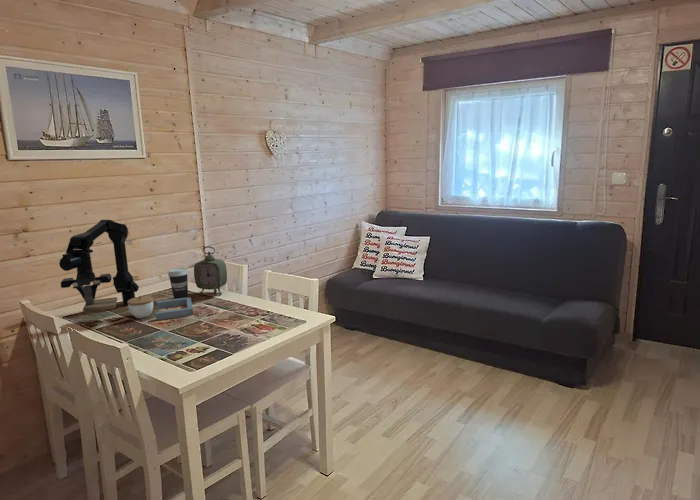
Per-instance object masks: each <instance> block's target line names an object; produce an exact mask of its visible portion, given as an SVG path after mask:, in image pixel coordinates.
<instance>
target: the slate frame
mask: <svg viewBox="0 0 700 500" xmlns="http://www.w3.org/2000/svg"><path fill="white" fill-rule="evenodd" d="M155 303H156V304H155V305H156V309H157V310H160V309H166V308H172V307H173V308H174V307H181V306H186V307H185V308H178V309H177V308H176V309H173V310H172V309H169V310H164V311H163V310H162V311H156V312H155V313H154V314H155V321H161V320H168V319H174V318H175V319H176V318H181V317H188V316H189V317H190V316H194V312H193V311H194V310H193V304H192V297H191V296H188V297H187V298H180V299H174V298H173V299H166V300H158V301H157V300H156V302H155Z"/></svg>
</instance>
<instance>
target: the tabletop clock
mask: <svg viewBox="0 0 700 500" xmlns="http://www.w3.org/2000/svg"><path fill="white" fill-rule="evenodd" d="M208 248H209V249H212V250H213V252H210V251H207V252H205V251H204V250H205V249H208ZM202 252H203V254H205V256H204V259H203V260H202V259H201V261H200V260H199V261H198V262H196V263H194V267H193V277H194V282H195V285H196V287H197V288H198V289H201V291H199V294H200V295H203V293H204V290H213V292H214V293H217V290H218V296H222V292H221V290H220V288H221V287H223V286H225V285H227V282H228V272H227V271H228V270H227V265H226V261H224V260H223V259H220V258H219V259H218V258H215V256H214V255H213V254H215V253H216V249H215V248H214V247H213V246H209V245H207V246H204V247H203V248H202Z"/></svg>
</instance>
